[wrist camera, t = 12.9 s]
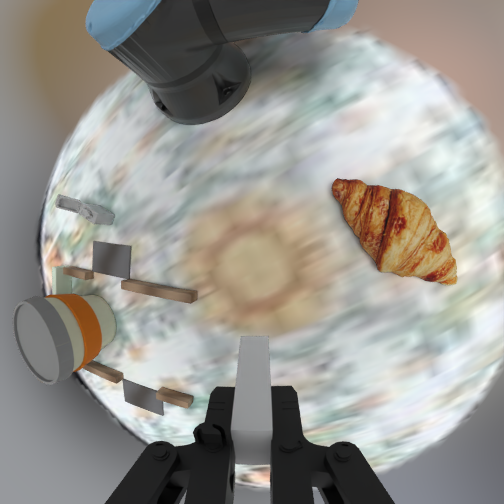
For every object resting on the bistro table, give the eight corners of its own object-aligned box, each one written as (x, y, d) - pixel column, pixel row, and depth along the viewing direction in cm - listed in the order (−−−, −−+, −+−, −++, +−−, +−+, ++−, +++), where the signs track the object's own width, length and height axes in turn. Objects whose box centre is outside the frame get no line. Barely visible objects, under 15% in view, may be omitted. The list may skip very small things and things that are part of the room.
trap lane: (200, 255, 37) (194, 256, 35) (192, 424, 39) (188, 431, 37) (68, 237, 42) (60, 237, 40) (76, 377, 44) (69, 381, 42)
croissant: (448, 260, 34) (484, 240, 26) (431, 318, 31) (472, 307, 23) (337, 175, 36) (360, 138, 29) (304, 228, 33) (326, 193, 25)
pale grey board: (71, 266, 42) (55, 268, 38) (77, 358, 44) (63, 364, 40) (67, 265, 43) (52, 267, 39) (73, 356, 44) (60, 362, 40)
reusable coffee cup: (65, 312, 43) (6, 330, 29) (93, 269, 41) (23, 279, 27) (103, 365, 42) (47, 398, 27) (137, 328, 40) (72, 361, 25)
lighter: (115, 215, 40) (80, 211, 32) (111, 225, 40) (76, 223, 32) (89, 198, 41) (55, 193, 33) (85, 208, 41) (52, 204, 33)
